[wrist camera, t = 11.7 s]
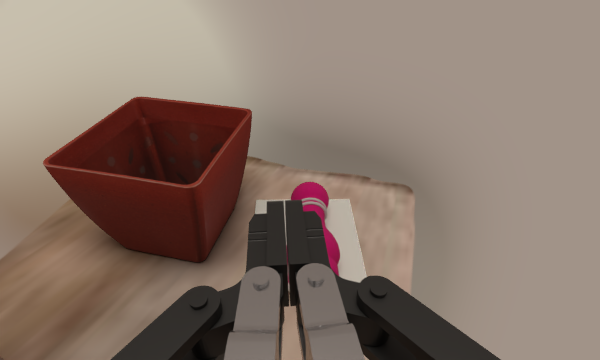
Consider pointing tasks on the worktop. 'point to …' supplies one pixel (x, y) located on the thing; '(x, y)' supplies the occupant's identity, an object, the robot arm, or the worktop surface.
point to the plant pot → (158, 173)
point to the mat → (338, 237)
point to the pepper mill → (318, 201)
